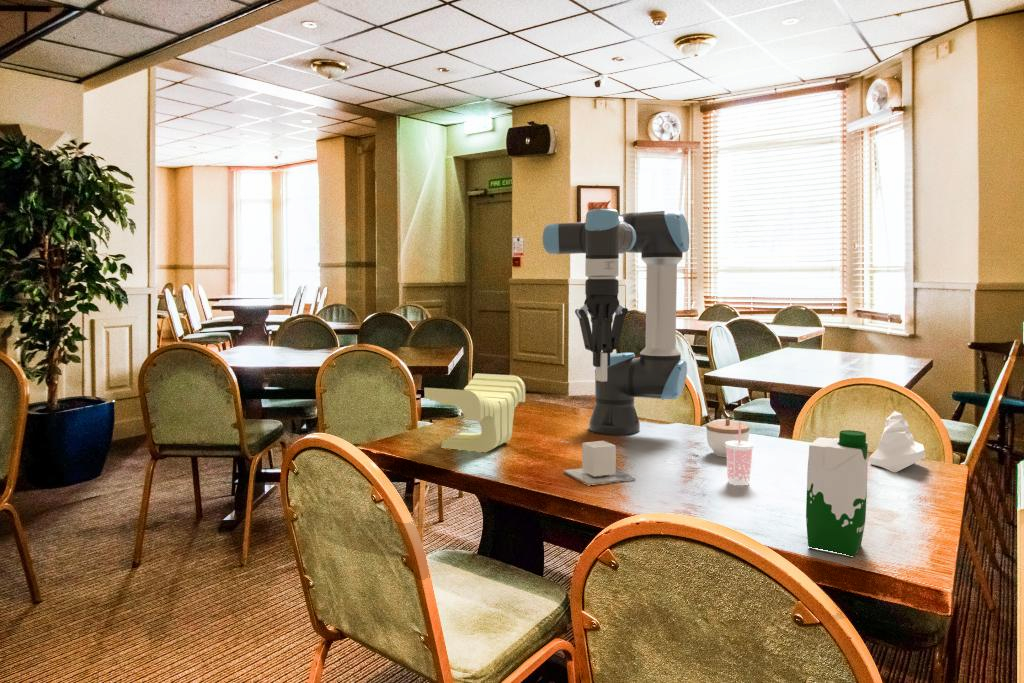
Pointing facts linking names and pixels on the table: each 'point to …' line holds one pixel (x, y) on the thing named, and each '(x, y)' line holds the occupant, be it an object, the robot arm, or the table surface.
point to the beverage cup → (739, 460)
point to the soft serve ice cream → (897, 445)
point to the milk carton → (837, 492)
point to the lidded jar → (724, 435)
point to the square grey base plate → (598, 477)
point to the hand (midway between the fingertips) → (601, 380)
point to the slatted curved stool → (483, 409)
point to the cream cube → (599, 458)
